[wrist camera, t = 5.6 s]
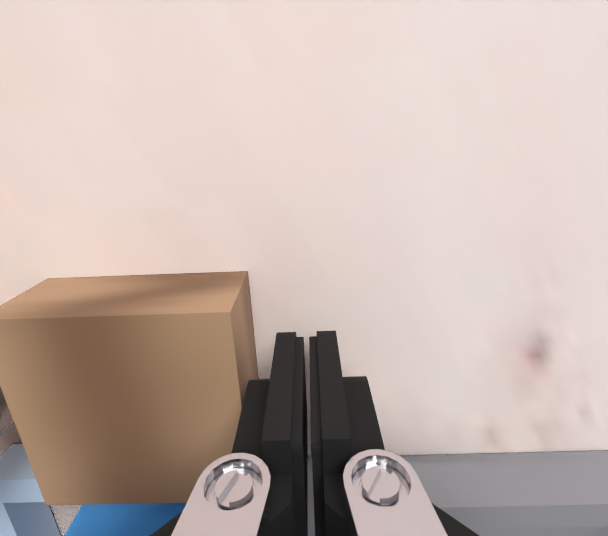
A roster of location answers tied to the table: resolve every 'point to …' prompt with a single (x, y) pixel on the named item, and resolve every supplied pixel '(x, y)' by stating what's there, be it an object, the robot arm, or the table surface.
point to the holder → (22, 498)
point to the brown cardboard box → (127, 381)
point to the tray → (514, 491)
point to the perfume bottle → (123, 519)
